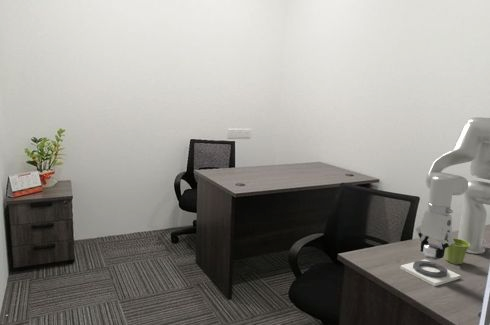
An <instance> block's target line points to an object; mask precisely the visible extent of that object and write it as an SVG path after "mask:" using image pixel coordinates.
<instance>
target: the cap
mask: <svg viewBox="0 0 490 325" xmlns="http://www.w3.org/2000/svg"><path fill="white" fill-rule="evenodd" d="M438 248H439V244H435V243H432V242H431V243H430V242H428V243H426V244H424V248H423V252H422V257H424V258H427V259H428V260H429V259H430V260H437V261H438V260H439V259H437V258H436V256H437V249H438Z"/></svg>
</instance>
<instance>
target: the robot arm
mask: <svg viewBox="0 0 490 325" xmlns="http://www.w3.org/2000/svg"><path fill="white" fill-rule="evenodd" d="M465 163H470V166H469V167H470V169H469V172H470V175H471V177H472V176H473V177H474V178H477V179H482V180H487V181H490V117H470V118H469V119H467V121H466V123H465V124H464V125H463V127H462V128H461V131H460V132H459V134H458V137H457V139H456V141H455V144H454V145H453V148H452V149H451V150H450V151H447V152H446V153H444V154H442V155H441V156H439V157H438V158H436V159H435V161H433V163H432V164H431V165H430V168H429V170H428V173H427V175H426V177H425V185H426V187H427V188H428V189H429V193H428V200H427V207H426V209H425V210H424V213H423V214H422V215H423V216H422V218H421V219H422V220H421V223H420V225H419V226H417V227H416V228H415V231H416V232H417V235H418V237H419V240H420V242H421V243H420V252H422V253H423V248H424V244H426V243H429V238H430V239H433V240H436V241H437V242H438V246H439V248H438V249H437V256H436V258H437V259H438V260H440V259H443V258H444V256H445V253H446V248H447V247H449V246H450V245H453V244H454V243H455V241H454V240H453V238H454V237H453V236H452V233H453V232H452V231H453V216H452V214H453V213H454V210H453V209H451V208H452V207H451V206H452V198H453V196H462V209H461V216H460V221H459V222H460V223H459V228H458V234H457V239H461V240H464V241H466V242H468V243H470V246H469V247H468V249H467V251H466V253H467V254H468V253H469V254H475V255H479V254H480V255H481V254H482V255H483V254H484V253H486V248H484V246H483V244H485V243H487V240H486V239H485V238H484V235H485V227H486V222H487V216H488V214H487V210H486V207H485V206H484V205H486V206H487V205H488V206H490V182H487V181H481V180H474V179H473V180H467V178H466V177H464V176H462V175H457V174H453V173H447V172H443V170H445V169H446V168H449V167H452V166H456V165H461V164H465ZM446 240H448V242H447V243H446Z"/></svg>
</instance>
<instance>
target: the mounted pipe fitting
mask: <svg viewBox="0 0 490 325" xmlns="http://www.w3.org/2000/svg"><path fill="white" fill-rule="evenodd" d="M399 269H400V270H402V271H404V272H406V273H408V274H410V275H412V276H414V277H416V278H418V279H419V280H422V281H424V282H425V283H427V284H429V285H431V286H433V287H437V286H440V285H443V284H447V283H449V282H450V283H451V282H453V281H456V280H459V279H461V276H462V275H461V274H458V273H456V272H454V271H452V270H450V269H448V268H446V267H445V266H443V265H441V264H439V263H436V262H432V261H430V260H429V259H421V260H417V261H414V262H412V261H411V262H409V263H405V264H401V265H399Z"/></svg>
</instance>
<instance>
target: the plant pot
mask: <svg viewBox="0 0 490 325" xmlns="http://www.w3.org/2000/svg"><path fill="white" fill-rule="evenodd" d="M452 238H453V240H454V241H455V243H454V244H453V245H450V246H449V247H447V248H445V260H446V261H447V262H449V263H451V264H454V265H459V264H460V265H462V264H463V262H464V259H465V258H466V253H467V252H466V251H467V249H468V247H469V246H470V243H468V242H466V241H464V240H461V239H458V238H454V237H452ZM447 242H448V240H446V243H447Z"/></svg>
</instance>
